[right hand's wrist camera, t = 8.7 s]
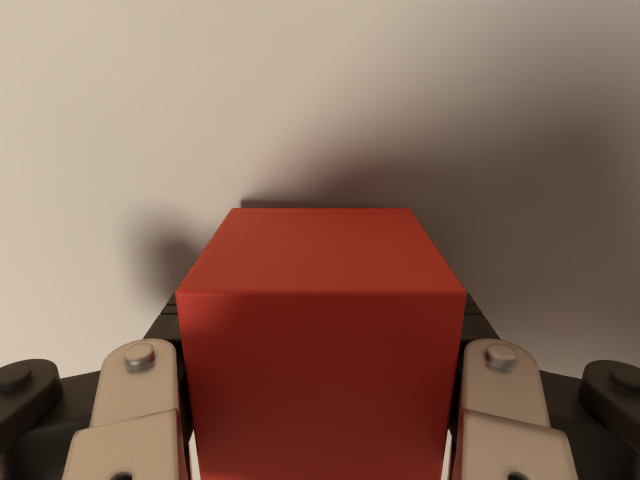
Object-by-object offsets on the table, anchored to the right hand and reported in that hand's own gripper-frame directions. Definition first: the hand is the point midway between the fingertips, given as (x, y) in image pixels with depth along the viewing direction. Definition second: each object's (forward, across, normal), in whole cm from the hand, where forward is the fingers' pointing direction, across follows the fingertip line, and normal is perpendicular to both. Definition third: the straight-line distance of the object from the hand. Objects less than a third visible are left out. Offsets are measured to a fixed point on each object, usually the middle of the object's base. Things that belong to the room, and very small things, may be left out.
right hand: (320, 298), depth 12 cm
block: (+1, 0, 0) cm, 1 cm away
